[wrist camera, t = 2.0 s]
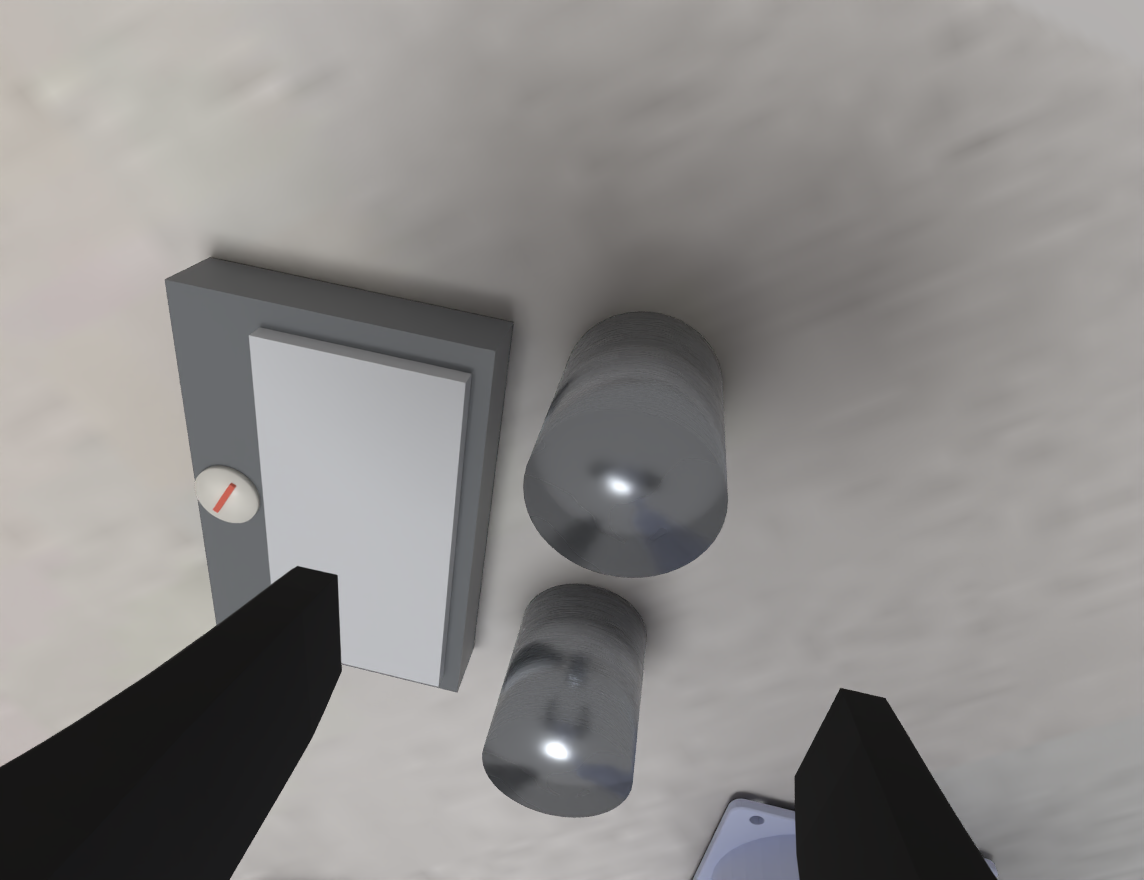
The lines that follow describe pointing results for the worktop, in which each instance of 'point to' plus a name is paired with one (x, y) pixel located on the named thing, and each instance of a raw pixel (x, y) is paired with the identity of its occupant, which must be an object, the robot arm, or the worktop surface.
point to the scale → (344, 453)
